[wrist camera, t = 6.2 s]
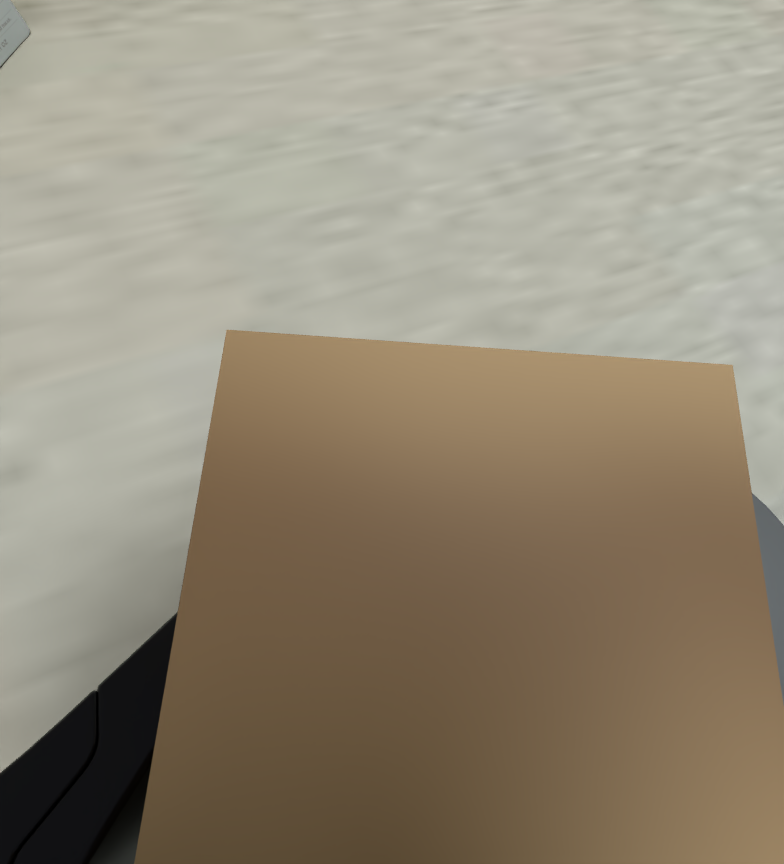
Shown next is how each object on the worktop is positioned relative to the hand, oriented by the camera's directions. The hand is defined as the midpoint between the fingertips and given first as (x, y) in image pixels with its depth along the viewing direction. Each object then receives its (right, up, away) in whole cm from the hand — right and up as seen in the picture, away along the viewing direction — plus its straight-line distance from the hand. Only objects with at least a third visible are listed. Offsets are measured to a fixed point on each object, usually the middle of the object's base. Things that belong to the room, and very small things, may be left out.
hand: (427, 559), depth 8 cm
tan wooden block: (0, -2, +6) cm, 7 cm away
